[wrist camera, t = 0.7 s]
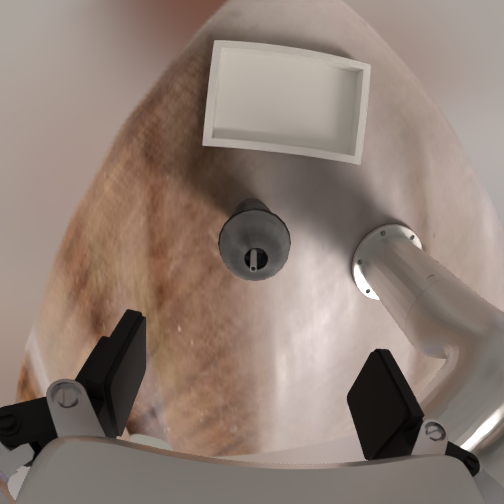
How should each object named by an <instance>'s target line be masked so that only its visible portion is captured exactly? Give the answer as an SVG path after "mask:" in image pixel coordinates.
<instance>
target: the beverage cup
mask: <svg viewBox="0 0 504 504" xmlns="http://www.w3.org/2000/svg"><path fill="white" fill-rule="evenodd" d="M218 245H219V250H220V255H221V257H222V260H223V261H224V263H225V265H226V266H227V268H228V269H229V270H230V271H231V272H233V273H234V274H235V275H236V276H238V277H240V278H242V279H245V280H251V281H259V280H265V279H267V278H270V277H272V276H274V275H275V274H276V273H277V272H278V271H280V270H281V269H282V268H283V266H284V264H285V262H286V261H287V259H288V255H289V250H290V245H291V241H290V233H289V231H288V229H287V227H286V225H285V223H284V222H283V221H282V220H281V219H280V218H279V217H278V216H277V215H276V214H274V213H272V212H271V211H270V210H269V209H268V207H267V206H266V205H265V204H264V203H262V202H261V201H258V200H255V199H250V200H246V201H244V202H242V203H241V204H240V205H239V206H238V207H237V209H236V211H235V212H234V214H233V215H232V216H231V217H230V218H229V219H228V220H227V221H226V222H225V224H224V226H223V228H222V230H221V232H220V234H219V242H218Z"/></svg>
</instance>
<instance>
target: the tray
mask: <svg viewBox="0 0 504 504" xmlns="http://www.w3.org/2000/svg"><path fill="white" fill-rule="evenodd" d="M370 70H371V65H370V64H367V63H363V62H359V61H356V60H352V59H348V58H344V57H340V56H335V55H331V54H326V53H321V52H316V51H311V50H306V49H300V48H294V47H287V46H280V45H273V44H264V43H254V42H242V41H226V40H214V46H213V53H212V61H211V68H210V77H209V85H208V94H207V103H206V112H205V123H204V133H203V145H202V146H215V147H229V148H241V149H252V150H262V151H271V152H279V153H287V154H295V155H302V156H309V157H316V158H323V159H329V160H335V161H341V162H346V163H352V164H357V165H361V158H362V151H363V143H364V135H365V127H366V117H367V108H368V97H369V85H370Z"/></svg>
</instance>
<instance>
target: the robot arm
mask: <svg viewBox="0 0 504 504" xmlns="http://www.w3.org/2000/svg"><path fill="white" fill-rule="evenodd" d="M381 231H382V232H381ZM358 260H359V261H358ZM352 275H353V278H354V282H355V283H356V285H357V287H358V288H359V289H360V291H361V292H362V293H363V294H364V295H366V296H368V297H370V298H373V299H377V300H380V301H381V302H382V304H383V305H384V306H385V308H386V309H387V311H388V312H389V313H390V315H391V316H392V317H393V319H394V320H395V322H396V323H397V324H398V326H399V327H400V329H401V330H402V331H403V333H404V334H405V336H406V337H407V339H408V340H409V341H410V343H411V344H412V346H413V347H414V348H415V349H416V350H417V351H418V352H419V353H421V354H423V355H424V356H427V357H430V358H435V359H446V361H445V363H444V365H443V366H442V367H441V369H440V370H439V371H438V373H437V374H436V376H435V377H434V378H433V380H432V381H431V382H430V383H429V384H428V386H427V387H426V388H425V389H424V390H423V391H422V392H421V393H420V395H419V396H418V397H417V398H415V396H414V394H413V392H412V390H411V388H410V386H409V385H408V383H407V381H406V379H405V377H404V375H403V374H402V372H401V370H400V368H399V366H398V365H397V363H396V361H395V359H394V358H393V356H392V354H391V352H390V351H389V350H388V349H375V350H374V352H371V353H370V355H369V357H368V359H367V360H366V362H365V364H364V366H363V368H362V370H361V372H360V373H359V375H358V377H357V379H356V380H355V382H354V384H353V386H352V387H351V389H350V391H349V392H348V395H347V402H348V405H349V409H350V412H351V415H352V418H353V421H354V424H355V428H356V431H357V434H358V437H359V440H360V444H361V447H362V451H363V454H364V457H365V459H366V460H368V461H361V462H348V463H331V464H273V463H255V462H243V461H233V460H225V459H217V458H210V457H203V456H197V455H191V454H185V453H180V452H174V451H169V450H164V449H159V448H155V447H151V446H146V445H142V444H137V443H133V442H128V441H124V440H119V439H116V437H117V436H120V437H121V436H122V434H123V431H124V429H125V426H126V423H127V420H128V417H129V414H130V412H131V409H132V406H133V403H134V401H135V398H136V395H137V393H138V390H139V387H140V385H141V382H142V380H143V377H144V374H145V370H146V317H143V316H142V313H141V312H138V311H134V310H130V309H127V310H126V312H125V313H124V315H123V317H122V318H121V320H120V321H119V323H118V325H117V326H116V328H115V329H114V331H113V333H112V334H111V336H110V337H106V336H103V337H101V339H100V340H99V341H98V343H97V345H96V346H95V348H94V349H93V351H92V352H91V354H90V356H89V357H88V359H87V360H86V362H85V364H84V365H83V367H82V369H81V370H80V372H79V374H78V375H77V377H76V379H75V380H71V379H60V380H57V381H55V382H53V383H52V384H51V385H50V386H49V387H48V389H47V392H46V397H42V398H38V399H34V400H30V401H26V402H22V403H17V404H13V405H9V406H4V407H1V408H0V504H504V312H503V311H502V310H500V309H498V308H497V307H495V306H494V305H492V304H491V303H489V302H488V301H486V300H485V299H484V298H482V297H481V296H480V295H478V294H477V293H476V292H475V291H473V290H472V289H471V288H470V287H468V286H467V285H466V284H465V283H464V282H462V281H461V280H460V279H459V278H457V277H456V276H455V275H454V274H452V273H451V272H450V271H449V270H447V269H446V268H445V267H443V266H442V265H441V264H440V263H439V262H438V261H436V260H434V259H433V258H432V257H430V256H429V255H428V254H426V253H425V252H424V251H423V249H422V245H421V242H420V240H419V238H418V237H417V235H416V234H415V233H414V232H413V231H412V230H410V229H409V228H407V227H405V226H403V225H399V224H387V225H384V226H380V227H378V228H376V229H374V230H373V231H372V232H370V233H369V234H368V235H367V236H366V237H365V238H364V239H363V240H362V242H361V243H360V244H359V246H358V248H357V250H356V252H355V254H354V258H353V262H352ZM21 466H26V467H28V466H31V467H30V469H29V471H28V473H27V475H26V477H25V479H24V482H23V484H22V486H21V489H20V491H19V494H18V496H17V499H16V501H15V500H14V499H13V497H12V496H11V495H10V492H9V491H8V486H7V483H8V480H9V478H10V477H11V476H12V475H14V474H15V473H17V469H18V468H20V467H21Z"/></svg>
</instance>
